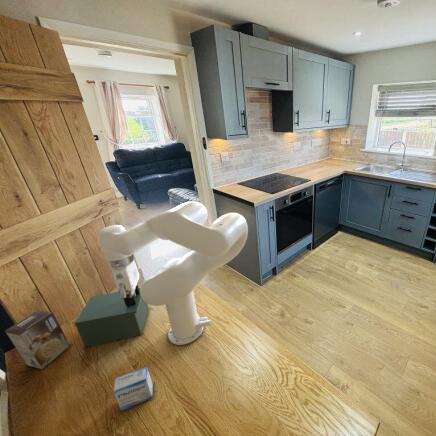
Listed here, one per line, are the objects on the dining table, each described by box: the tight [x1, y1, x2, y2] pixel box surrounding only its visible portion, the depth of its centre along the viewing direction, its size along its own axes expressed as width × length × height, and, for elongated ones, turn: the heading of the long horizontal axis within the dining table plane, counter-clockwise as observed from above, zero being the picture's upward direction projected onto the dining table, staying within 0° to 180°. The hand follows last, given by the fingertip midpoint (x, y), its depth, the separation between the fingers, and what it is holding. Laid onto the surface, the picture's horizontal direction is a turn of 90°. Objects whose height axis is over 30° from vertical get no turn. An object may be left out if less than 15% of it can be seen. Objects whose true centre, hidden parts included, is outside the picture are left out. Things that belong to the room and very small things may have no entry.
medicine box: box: [112, 366, 154, 412], centre depth 68 cm, size 8×4×9 cm, turn 118°
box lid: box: [74, 287, 142, 326], centre depth 88 cm, size 18×14×6 cm
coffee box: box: [4, 309, 71, 370], centre depth 78 cm, size 9×6×16 cm
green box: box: [75, 299, 150, 348], centre depth 91 cm, size 18×14×11 cm
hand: (133, 299), depth 91 cm, fingers closed on box lid, 5 cm apart
